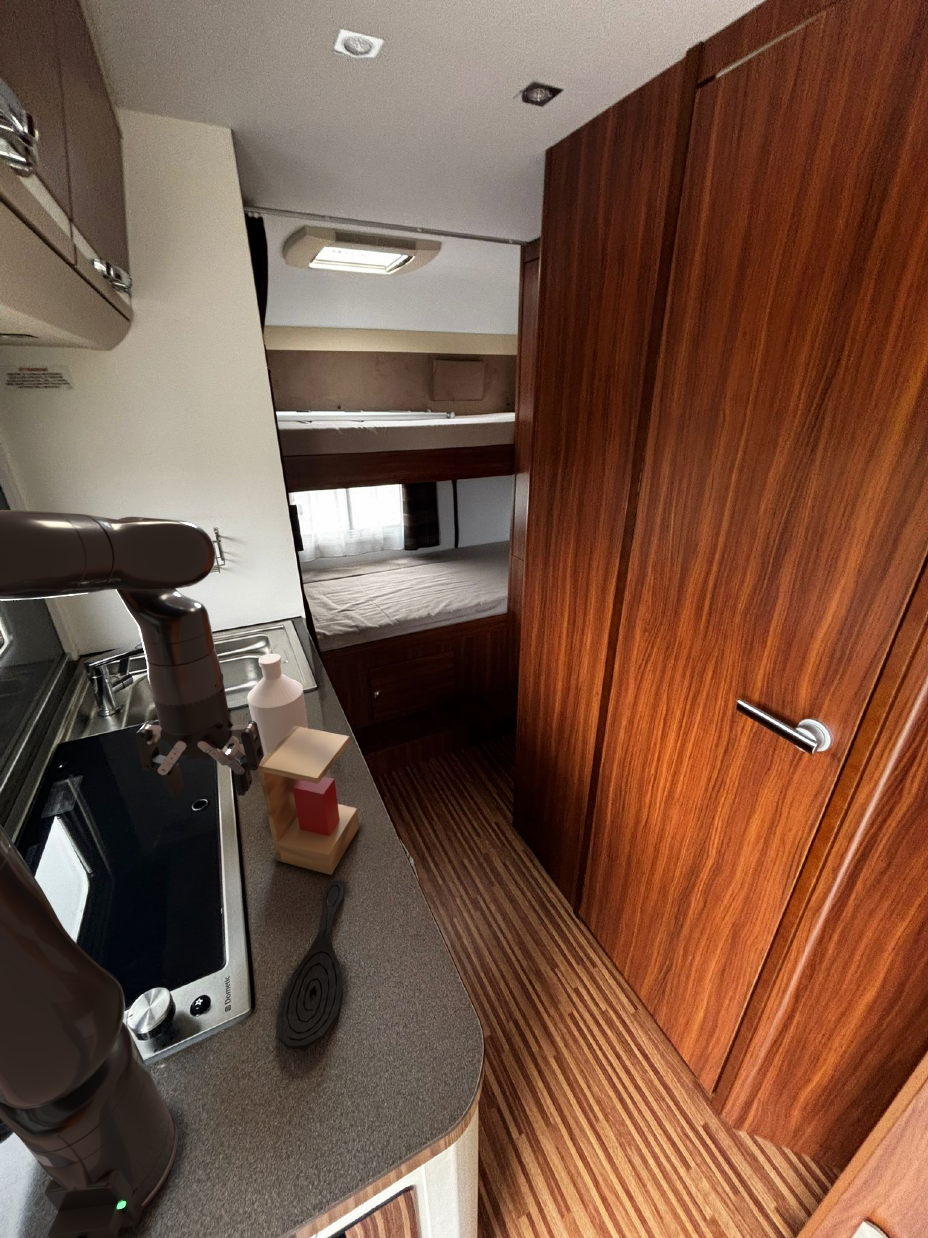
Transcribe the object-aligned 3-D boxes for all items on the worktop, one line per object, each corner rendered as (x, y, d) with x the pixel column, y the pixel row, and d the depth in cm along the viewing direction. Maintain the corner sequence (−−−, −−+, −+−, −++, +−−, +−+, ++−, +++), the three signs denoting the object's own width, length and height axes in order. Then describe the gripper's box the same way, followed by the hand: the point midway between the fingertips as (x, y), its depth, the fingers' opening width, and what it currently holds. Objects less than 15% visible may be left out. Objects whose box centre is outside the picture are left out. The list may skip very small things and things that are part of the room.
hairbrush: (360, 871, 85) (329, 1041, 61) (362, 887, 86) (331, 1058, 63) (312, 873, 84) (261, 1043, 61) (314, 888, 86) (266, 1061, 62)
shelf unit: (331, 875, 87) (317, 778, 78) (277, 860, 90) (257, 765, 81) (359, 827, 97) (349, 736, 88) (309, 815, 99) (294, 725, 90)
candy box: (311, 813, 94) (304, 772, 89) (339, 819, 92) (334, 778, 88) (299, 829, 90) (292, 787, 86) (329, 836, 89) (323, 794, 85)
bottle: (257, 741, 120) (238, 651, 110) (307, 729, 125) (294, 642, 114) (261, 772, 110) (241, 677, 100) (315, 758, 115) (301, 665, 105)
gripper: (107, 702, 55) (139, 813, 61) (237, 703, 56) (256, 812, 62) (143, 669, 62) (169, 772, 68) (259, 670, 63) (274, 772, 69)
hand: (210, 791), depth 65 cm, fingers open, 8 cm apart
